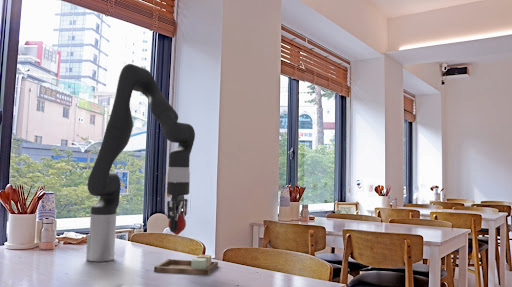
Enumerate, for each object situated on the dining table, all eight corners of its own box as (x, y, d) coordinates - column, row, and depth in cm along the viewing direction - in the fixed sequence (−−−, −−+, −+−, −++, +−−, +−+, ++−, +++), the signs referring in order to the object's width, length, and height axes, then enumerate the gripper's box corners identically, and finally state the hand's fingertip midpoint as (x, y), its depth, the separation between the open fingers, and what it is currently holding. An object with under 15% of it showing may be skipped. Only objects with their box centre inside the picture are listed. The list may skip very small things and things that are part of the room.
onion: (181, 236, 144) (182, 212, 144) (165, 235, 145) (166, 211, 145) (187, 234, 149) (188, 210, 150) (172, 233, 150) (172, 210, 151)
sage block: (191, 272, 140) (191, 260, 140) (194, 270, 144) (195, 257, 144) (202, 273, 140) (203, 260, 140) (206, 270, 143) (206, 258, 144)
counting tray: (153, 276, 141) (154, 266, 141) (168, 267, 153) (168, 259, 154) (207, 279, 138) (207, 270, 138) (217, 270, 150) (217, 262, 151)
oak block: (196, 268, 146) (196, 256, 146) (199, 266, 150) (200, 254, 150) (208, 269, 145) (208, 257, 146) (211, 266, 149) (211, 255, 150)
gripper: (175, 180, 156) (173, 227, 155) (160, 180, 142) (158, 232, 141) (195, 180, 155) (193, 228, 154) (182, 181, 141) (180, 233, 139)
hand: (176, 230), depth 147 cm, fingers closed on onion, 6 cm apart
